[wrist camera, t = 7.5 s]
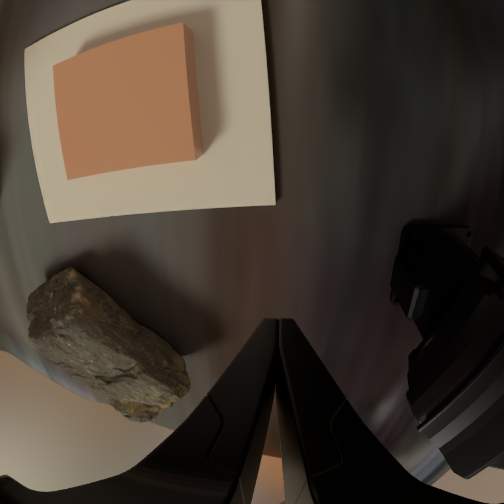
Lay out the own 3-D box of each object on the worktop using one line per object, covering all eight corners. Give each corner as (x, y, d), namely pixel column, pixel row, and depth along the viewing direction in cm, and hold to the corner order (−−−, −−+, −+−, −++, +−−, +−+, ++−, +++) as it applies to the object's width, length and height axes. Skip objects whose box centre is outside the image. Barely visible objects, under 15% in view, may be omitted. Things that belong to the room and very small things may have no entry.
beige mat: (258, -22, 12) (258, -25, 12) (275, 202, 19) (275, 204, 19) (28, 49, 14) (24, 49, 13) (53, 220, 21) (49, 223, 20)
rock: (212, 366, 20) (166, 439, 22) (214, 321, 27) (174, 392, 29) (11, 259, 17) (2, 352, 19) (52, 238, 23) (34, 320, 25)
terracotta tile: (183, 22, 12) (52, 65, 13) (195, 160, 16) (67, 180, 16) (192, 30, 14) (70, 66, 15) (203, 154, 17) (83, 172, 18)
